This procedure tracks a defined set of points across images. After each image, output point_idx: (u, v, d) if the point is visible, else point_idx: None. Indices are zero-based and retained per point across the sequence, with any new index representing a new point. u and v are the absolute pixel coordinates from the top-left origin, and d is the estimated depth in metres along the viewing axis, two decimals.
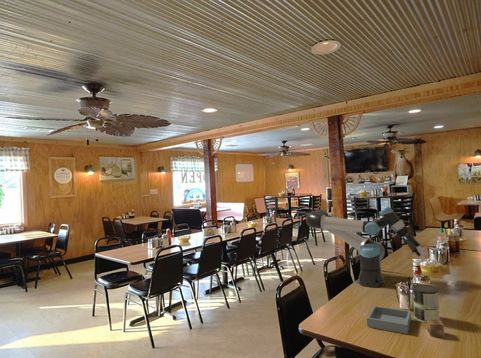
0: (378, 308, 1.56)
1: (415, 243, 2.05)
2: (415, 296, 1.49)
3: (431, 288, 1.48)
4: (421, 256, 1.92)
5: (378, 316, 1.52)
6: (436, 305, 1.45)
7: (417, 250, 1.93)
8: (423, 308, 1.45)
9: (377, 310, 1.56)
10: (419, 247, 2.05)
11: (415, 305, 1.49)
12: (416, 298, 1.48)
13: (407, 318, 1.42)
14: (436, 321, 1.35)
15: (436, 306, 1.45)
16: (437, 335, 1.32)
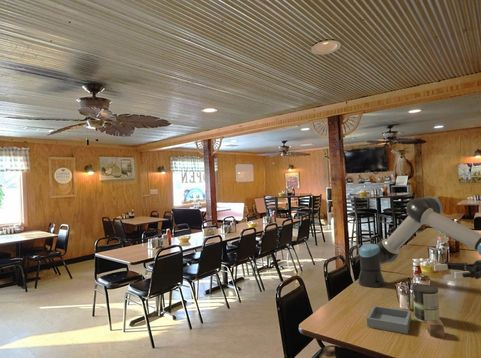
0: (378, 308, 1.56)
1: (453, 267, 1.57)
2: (415, 296, 1.49)
3: (431, 288, 1.48)
4: (460, 276, 1.43)
5: (378, 316, 1.52)
6: (436, 305, 1.45)
7: None
8: (423, 308, 1.45)
9: (377, 310, 1.56)
10: (445, 268, 1.57)
11: (415, 305, 1.49)
12: (416, 298, 1.48)
13: (407, 318, 1.42)
14: (436, 321, 1.35)
15: (436, 306, 1.45)
16: (437, 335, 1.32)
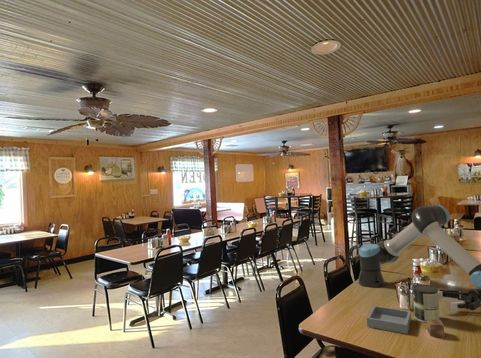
0: (378, 308, 1.56)
1: (448, 295, 1.55)
2: (415, 296, 1.49)
3: (431, 288, 1.48)
4: (455, 306, 1.42)
5: (378, 316, 1.52)
6: (436, 305, 1.45)
7: None
8: (423, 308, 1.45)
9: (377, 310, 1.56)
10: (440, 295, 1.56)
11: (415, 305, 1.49)
12: (416, 298, 1.48)
13: (407, 318, 1.42)
14: (436, 321, 1.35)
15: (436, 306, 1.45)
16: (437, 335, 1.32)
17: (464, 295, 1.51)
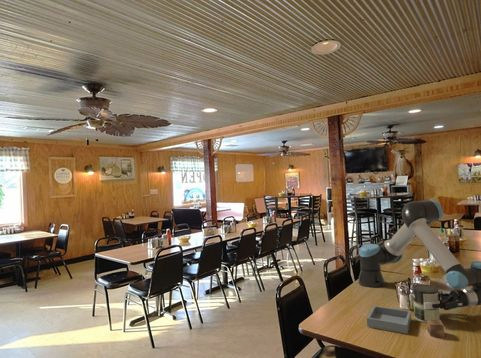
0: (378, 308, 1.56)
1: None
2: (415, 296, 1.49)
3: (431, 288, 1.48)
4: (430, 306, 1.43)
5: (378, 316, 1.52)
6: None
7: None
8: (423, 308, 1.45)
9: (377, 310, 1.56)
10: None
11: (415, 305, 1.49)
12: (416, 298, 1.48)
13: (407, 318, 1.42)
14: (436, 321, 1.35)
15: None
16: (437, 335, 1.32)
17: (444, 296, 1.51)
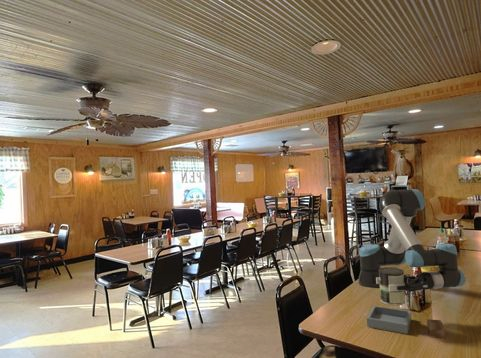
0: (378, 308, 1.56)
1: None
2: (381, 278, 1.46)
3: (397, 270, 1.45)
4: (395, 288, 1.41)
5: (378, 316, 1.52)
6: None
7: None
8: (388, 290, 1.43)
9: (377, 310, 1.56)
10: None
11: (381, 288, 1.46)
12: (382, 281, 1.45)
13: (407, 318, 1.42)
14: (436, 321, 1.35)
15: None
16: (437, 335, 1.32)
17: (411, 278, 1.48)
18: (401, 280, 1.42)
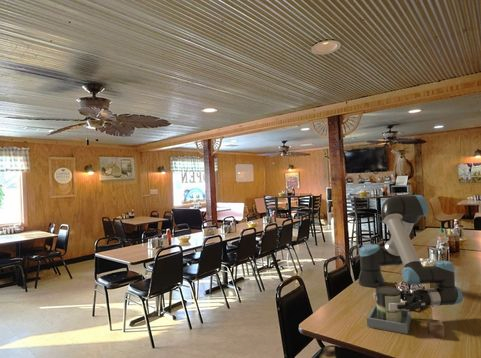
0: None
1: None
2: (377, 298, 1.46)
3: (394, 290, 1.46)
4: (395, 307, 1.40)
5: None
6: None
7: None
8: (385, 311, 1.43)
9: None
10: None
11: (378, 307, 1.46)
12: (378, 301, 1.46)
13: (407, 318, 1.42)
14: (436, 321, 1.35)
15: None
16: (437, 335, 1.32)
17: (408, 296, 1.48)
18: (398, 300, 1.42)
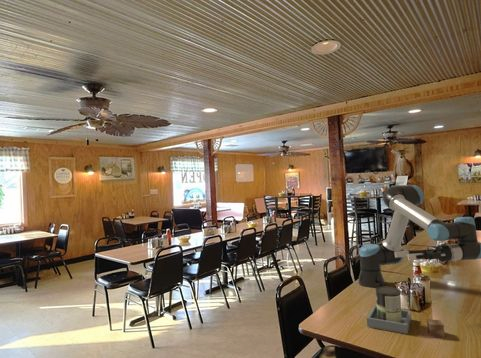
0: None
1: (414, 254, 1.56)
2: (377, 298, 1.46)
3: (394, 290, 1.46)
4: (414, 257, 1.44)
5: None
6: (398, 308, 1.42)
7: (423, 258, 1.44)
8: (385, 311, 1.43)
9: None
10: (407, 254, 1.57)
11: (378, 307, 1.46)
12: (378, 301, 1.46)
13: (407, 318, 1.42)
14: (436, 321, 1.35)
15: (398, 309, 1.42)
16: (437, 335, 1.32)
17: (428, 251, 1.51)
18: (398, 300, 1.42)
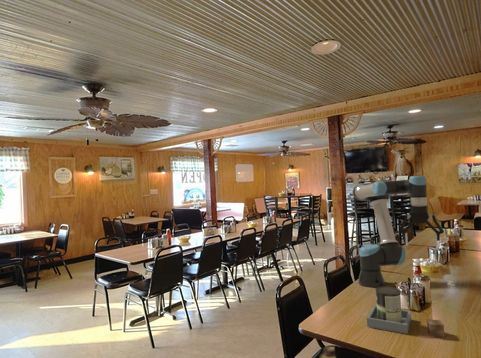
0: None
1: (432, 229, 1.66)
2: (377, 298, 1.46)
3: (394, 290, 1.46)
4: None
5: None
6: (398, 308, 1.42)
7: (405, 233, 1.72)
8: (385, 311, 1.43)
9: None
10: (435, 236, 1.65)
11: (378, 307, 1.46)
12: (378, 301, 1.46)
13: (407, 318, 1.42)
14: (436, 321, 1.35)
15: (398, 309, 1.42)
16: (437, 335, 1.32)
17: None
18: (398, 300, 1.42)
